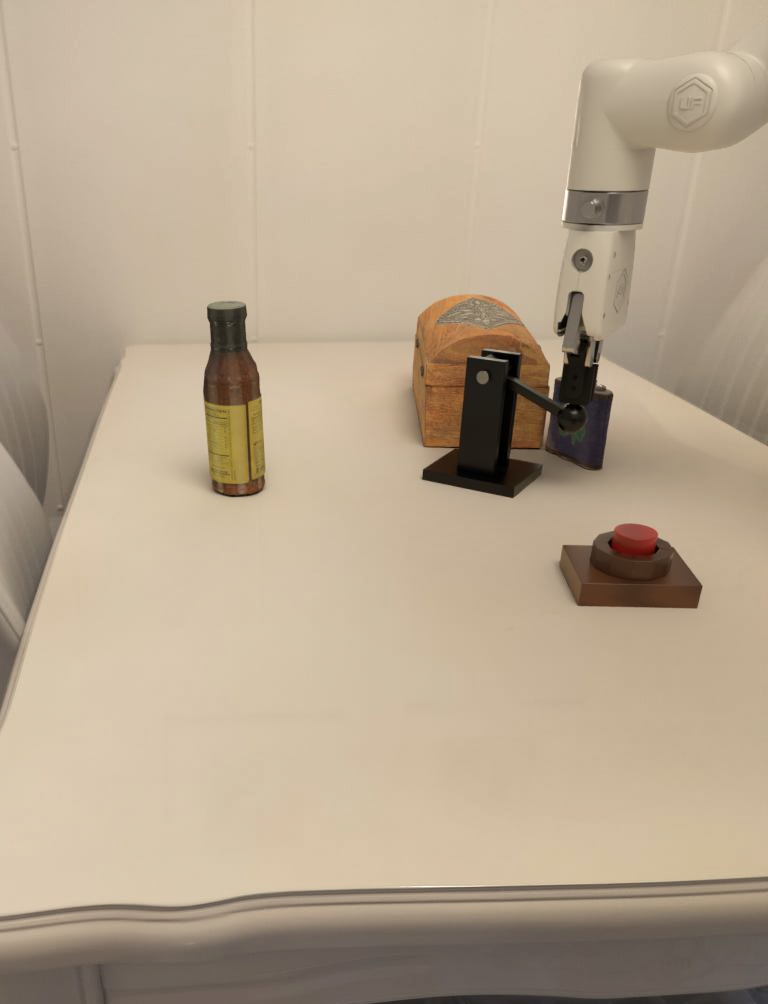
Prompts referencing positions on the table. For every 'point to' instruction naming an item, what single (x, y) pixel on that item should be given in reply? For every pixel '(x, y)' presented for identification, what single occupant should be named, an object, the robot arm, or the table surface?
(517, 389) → the lever
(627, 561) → the button block
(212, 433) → the sauce bottle
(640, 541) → the button
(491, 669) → the table surface
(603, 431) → the flask
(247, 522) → the table surface
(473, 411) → the bracket
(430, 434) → the wooden box
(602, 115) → the robot arm
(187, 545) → the table surface
